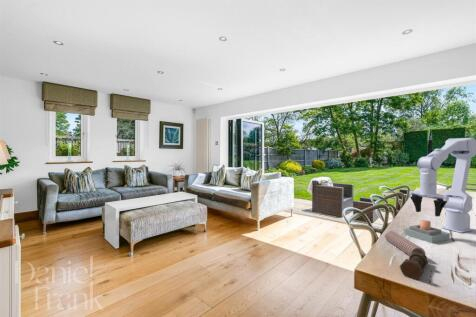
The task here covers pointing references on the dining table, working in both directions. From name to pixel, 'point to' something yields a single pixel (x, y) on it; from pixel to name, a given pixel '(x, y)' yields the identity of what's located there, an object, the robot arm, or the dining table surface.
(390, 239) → the coil
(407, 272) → the bolt
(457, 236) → the dining table surface
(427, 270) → the dining table surface
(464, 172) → the robot arm
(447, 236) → the socket board
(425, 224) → the peg
